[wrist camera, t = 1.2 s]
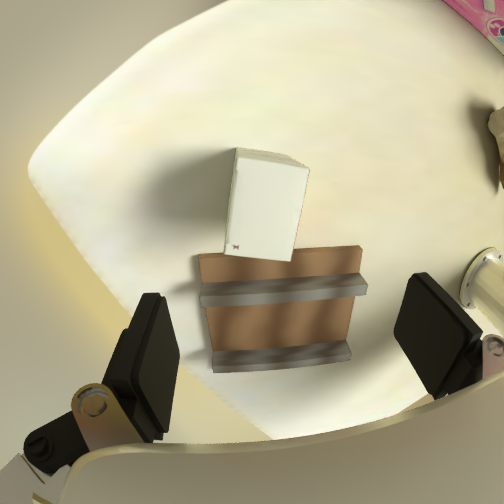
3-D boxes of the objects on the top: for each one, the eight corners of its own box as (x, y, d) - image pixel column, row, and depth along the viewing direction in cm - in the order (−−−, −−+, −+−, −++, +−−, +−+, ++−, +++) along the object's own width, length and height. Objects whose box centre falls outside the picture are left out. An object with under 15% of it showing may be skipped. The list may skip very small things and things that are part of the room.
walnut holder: (359, 245, 34) (372, 260, 31) (338, 355, 43) (345, 373, 39) (199, 254, 34) (195, 271, 30) (216, 366, 42) (216, 386, 38)
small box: (274, 221, 32) (291, 265, 23) (226, 215, 32) (222, 257, 22) (287, 153, 29) (312, 168, 20) (236, 145, 28) (236, 155, 19)
